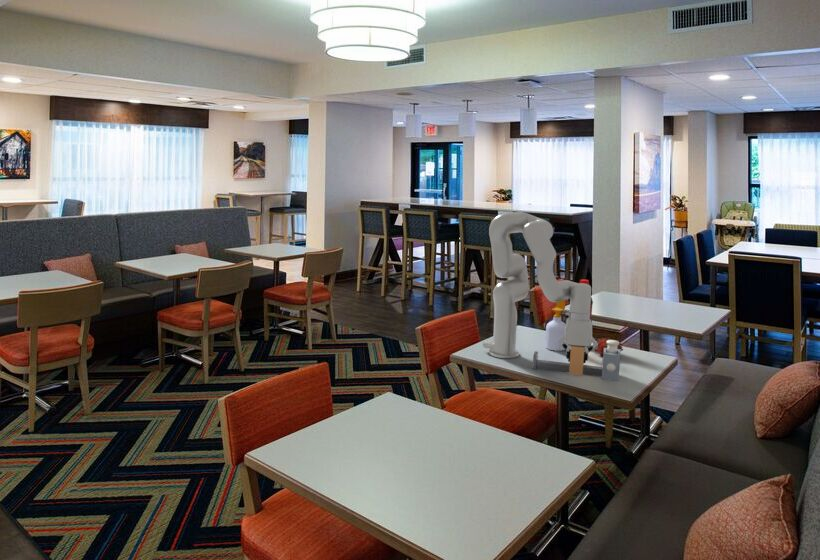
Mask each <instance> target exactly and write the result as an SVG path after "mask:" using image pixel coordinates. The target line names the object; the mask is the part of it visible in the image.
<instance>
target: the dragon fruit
mask: <svg viewBox="0 0 820 560" xmlns="http://www.w3.org/2000/svg"><path fill="white" fill-rule="evenodd" d="M607 340H614V339H613V338H612V339H610V338H609V337H607V338H606V337H605V338H604V337H601V338H598V339H597V340H595V341H596V342H597V343H598V346H597V347H595V348H594V352H595V353H600V356H603V353H604V348H607V346H608V344H606V341H607ZM617 349H620V353H621V352H622V351H624V349H623V347H622V345H621V344H619V345H618V347H617Z"/></svg>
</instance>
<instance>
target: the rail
mask: <svg viewBox="0 0 820 560" xmlns="http://www.w3.org/2000/svg"><path fill="white" fill-rule="evenodd" d="M538 358H539V351H537V350H536V351H534V353H533V357H532V370H533V371H534V370H535V371H536V370H540V371H548V372H549V371H550V372H557V373H567V374H569V366H570V362H563V361H562V362H559V361H551V360H546V359H545V360H544V359H543V360H542V359H538ZM582 376H591V377H600V378H602V366H597V365H590V364H589V365H587V364H584V365H583V375H582Z"/></svg>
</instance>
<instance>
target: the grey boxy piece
mask: <svg viewBox="0 0 820 560" xmlns="http://www.w3.org/2000/svg"><path fill="white" fill-rule="evenodd" d="M602 356H603V357H602V366H601V367H602V377H601V380H606V381H607V380H608V381H615V382H619V377H620V366H621V365H620V364H621V352H620V349H617V354H615V353H607V348H604V353H603V355H602Z"/></svg>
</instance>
